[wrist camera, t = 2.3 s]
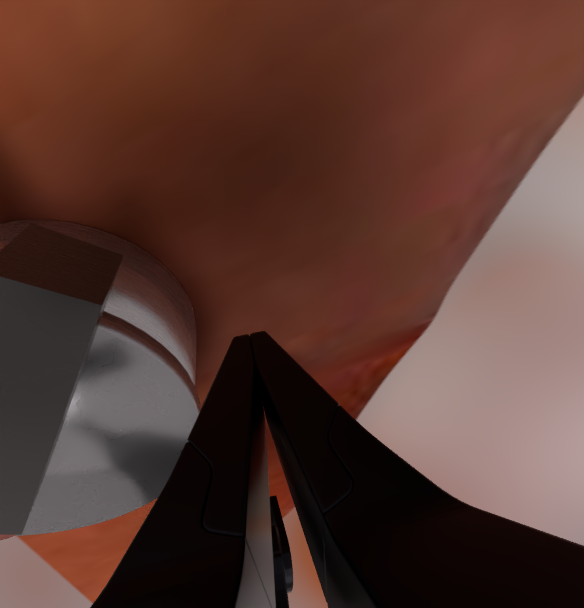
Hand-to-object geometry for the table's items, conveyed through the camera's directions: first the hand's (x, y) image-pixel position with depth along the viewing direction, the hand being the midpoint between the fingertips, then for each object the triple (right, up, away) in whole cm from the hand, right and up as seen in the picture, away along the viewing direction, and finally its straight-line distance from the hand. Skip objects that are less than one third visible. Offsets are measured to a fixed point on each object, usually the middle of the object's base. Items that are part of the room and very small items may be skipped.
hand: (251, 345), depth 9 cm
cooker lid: (-11, -3, +6) cm, 13 cm away
